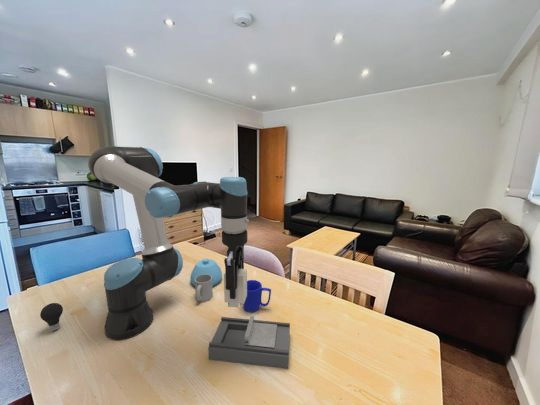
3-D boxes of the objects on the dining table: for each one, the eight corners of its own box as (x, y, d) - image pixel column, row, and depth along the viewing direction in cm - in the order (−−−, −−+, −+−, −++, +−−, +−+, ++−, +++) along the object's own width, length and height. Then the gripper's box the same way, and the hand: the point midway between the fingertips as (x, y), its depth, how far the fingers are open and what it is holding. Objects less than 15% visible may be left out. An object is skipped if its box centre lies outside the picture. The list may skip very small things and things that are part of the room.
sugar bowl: (228, 279, 114) (227, 257, 112) (205, 293, 101) (204, 270, 99) (208, 270, 122) (207, 250, 120) (184, 283, 109) (182, 261, 107)
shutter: (244, 346, 68) (244, 336, 67) (250, 324, 77) (250, 315, 76) (274, 350, 67) (274, 339, 66) (277, 326, 76) (277, 317, 75)
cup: (215, 293, 102) (214, 274, 100) (205, 307, 92) (205, 287, 90) (200, 291, 103) (199, 273, 101) (189, 305, 93) (188, 285, 91)
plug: (224, 306, 69) (223, 271, 67) (229, 298, 73) (228, 265, 71) (243, 308, 68) (243, 273, 66) (247, 299, 73) (246, 266, 70)
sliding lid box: (208, 359, 68) (208, 345, 67) (222, 328, 81) (222, 315, 80) (288, 368, 65) (288, 354, 64) (289, 334, 78) (289, 322, 77)
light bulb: (41, 338, 75) (35, 311, 73) (47, 327, 80) (42, 302, 78) (62, 332, 78) (58, 306, 76) (68, 322, 83) (63, 297, 81)
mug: (268, 316, 87) (268, 293, 85) (238, 312, 89) (238, 289, 87) (272, 303, 95) (272, 282, 93) (245, 300, 97) (244, 278, 95)
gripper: (239, 241, 57) (241, 321, 62) (252, 222, 74) (253, 286, 79) (211, 239, 58) (214, 319, 62) (230, 221, 75) (232, 285, 80)
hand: (236, 300), depth 71 cm, fingers closed on plug, 4 cm apart
